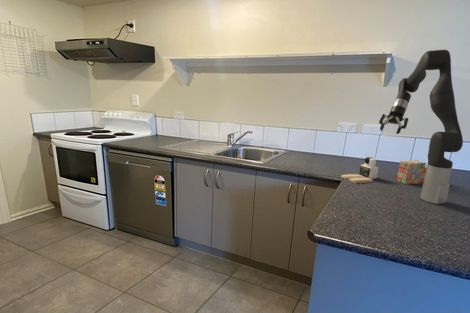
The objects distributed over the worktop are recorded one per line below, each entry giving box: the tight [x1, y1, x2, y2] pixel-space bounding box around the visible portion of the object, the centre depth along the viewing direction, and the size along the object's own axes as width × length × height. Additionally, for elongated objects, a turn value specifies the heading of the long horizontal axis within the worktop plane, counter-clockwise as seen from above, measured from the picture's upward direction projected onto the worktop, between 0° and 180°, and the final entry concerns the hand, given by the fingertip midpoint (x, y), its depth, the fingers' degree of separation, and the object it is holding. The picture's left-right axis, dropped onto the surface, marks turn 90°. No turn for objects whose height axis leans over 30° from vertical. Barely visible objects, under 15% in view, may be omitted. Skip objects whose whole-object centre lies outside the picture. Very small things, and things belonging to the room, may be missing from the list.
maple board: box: [340, 173, 374, 184], centre depth 158 cm, size 12×12×1 cm
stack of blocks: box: [395, 159, 427, 185], centre depth 158 cm, size 21×6×12 cm, turn 106°
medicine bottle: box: [358, 156, 379, 180], centre depth 162 cm, size 7×7×12 cm
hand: (389, 131), depth 159 cm, fingers open, 8 cm apart
